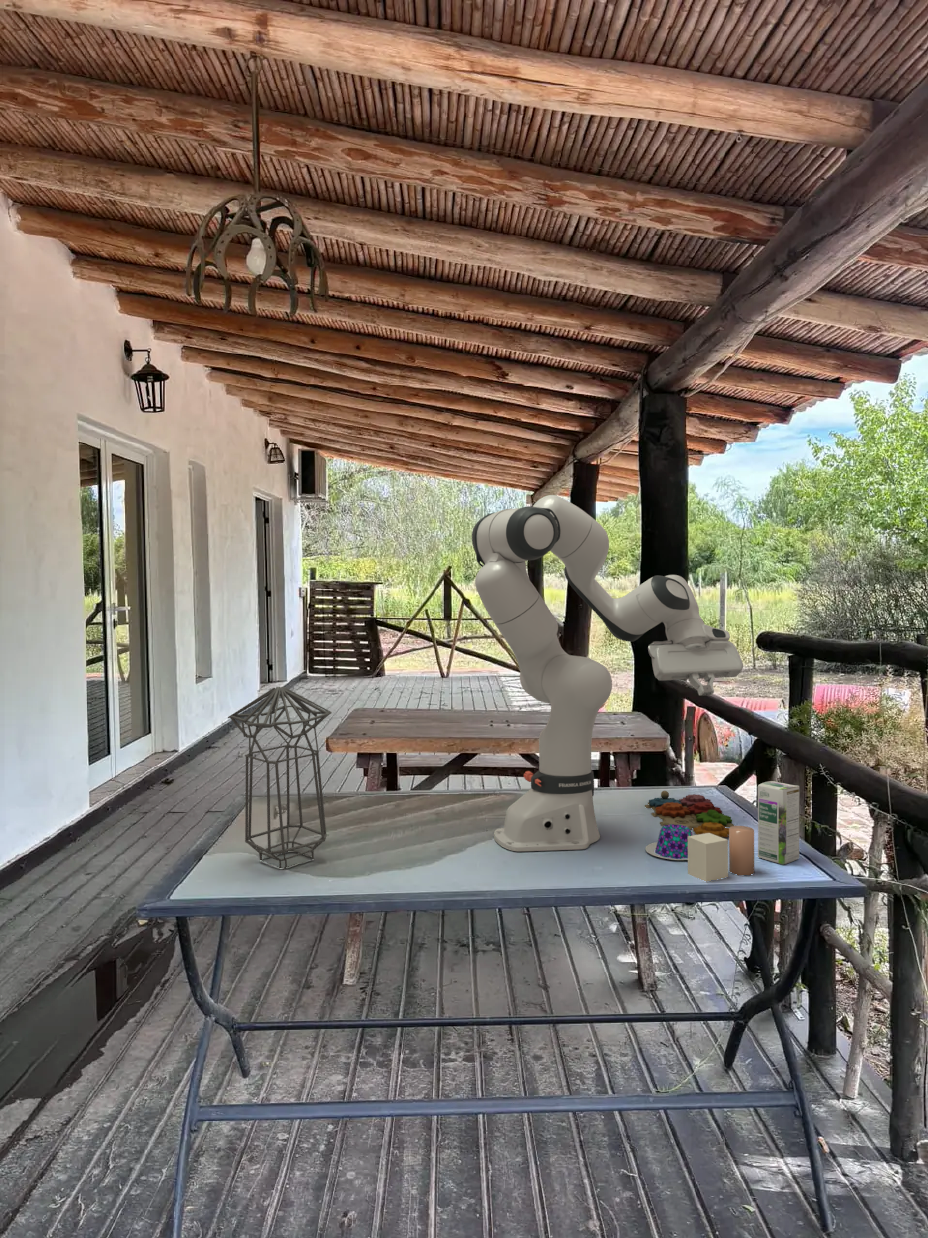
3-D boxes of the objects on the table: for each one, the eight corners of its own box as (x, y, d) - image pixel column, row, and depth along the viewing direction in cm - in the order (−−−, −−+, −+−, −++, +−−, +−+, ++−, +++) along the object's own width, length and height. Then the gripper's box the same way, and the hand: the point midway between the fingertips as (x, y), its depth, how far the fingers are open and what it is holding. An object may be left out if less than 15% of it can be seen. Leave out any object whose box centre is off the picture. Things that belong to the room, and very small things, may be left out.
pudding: (645, 862, 161) (644, 835, 160) (645, 843, 172) (645, 818, 172) (709, 865, 158) (709, 838, 158) (705, 846, 170) (704, 820, 169)
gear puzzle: (752, 842, 172) (752, 823, 172) (675, 844, 172) (674, 825, 172) (706, 804, 203) (706, 787, 203) (641, 805, 203) (641, 789, 203)
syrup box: (756, 858, 161) (756, 784, 160) (774, 852, 164) (773, 779, 164) (783, 865, 156) (782, 789, 155) (800, 859, 159) (800, 784, 159)
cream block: (706, 882, 148) (705, 844, 148) (687, 874, 153) (687, 836, 152) (728, 878, 150) (727, 840, 150) (709, 869, 155) (709, 832, 154)
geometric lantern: (341, 860, 164) (335, 685, 162) (272, 883, 153) (264, 695, 151) (297, 843, 175) (291, 679, 173) (229, 863, 164) (222, 688, 162)
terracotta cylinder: (738, 877, 150) (737, 833, 150) (724, 869, 155) (724, 827, 154) (759, 874, 151) (759, 831, 151) (745, 867, 156) (745, 825, 155)
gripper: (650, 634, 182) (667, 689, 175) (735, 631, 187) (755, 684, 179) (641, 649, 188) (657, 703, 180) (723, 645, 192) (742, 698, 184)
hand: (706, 694), depth 180 cm, fingers closed
